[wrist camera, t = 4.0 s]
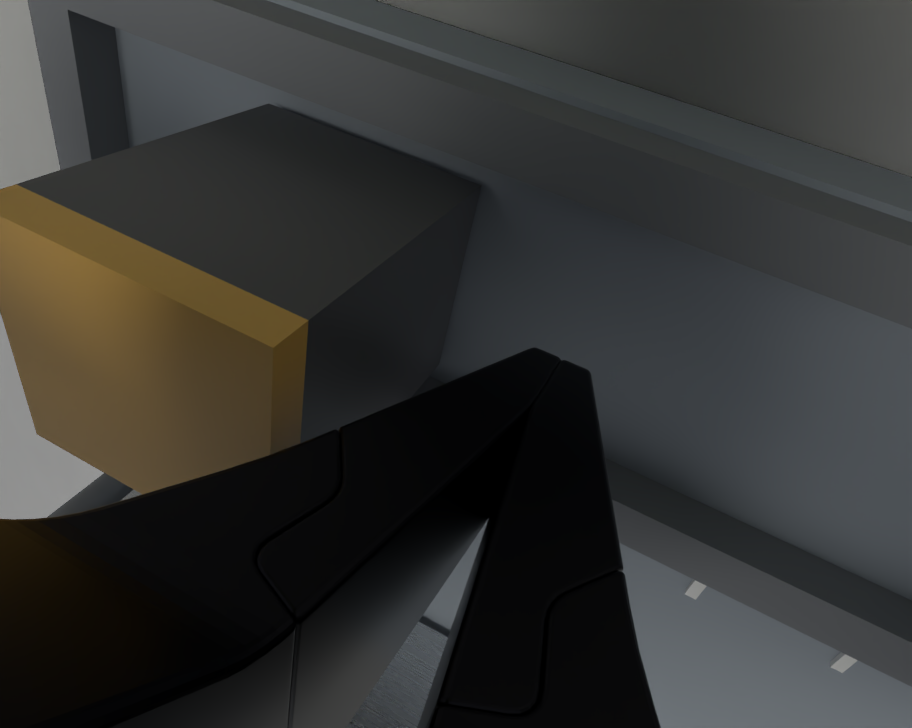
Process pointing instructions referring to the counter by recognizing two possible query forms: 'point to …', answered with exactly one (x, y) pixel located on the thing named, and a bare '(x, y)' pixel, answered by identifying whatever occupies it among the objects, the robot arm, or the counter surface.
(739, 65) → the counter surface
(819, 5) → the counter surface
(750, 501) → the console
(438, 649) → the rack door
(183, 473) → the fader knob
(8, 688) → the robot arm
